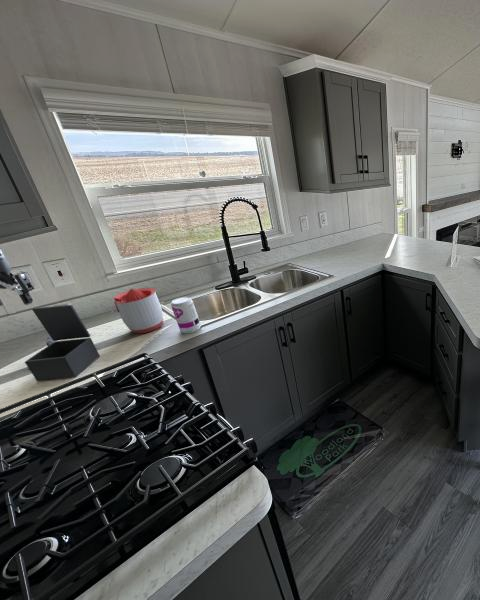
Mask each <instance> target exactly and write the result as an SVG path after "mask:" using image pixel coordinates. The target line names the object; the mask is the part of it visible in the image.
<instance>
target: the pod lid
mask: <svg viewBox="0 0 480 600" xmlns="http://www.w3.org/2000/svg"><path fill="white" fill-rule="evenodd" d="M31 310H32V312H33V313H34V315H35V316H36V317H37V319H38V320H39V322H40V323H41V325H42V326H43V328H44V329H45V331H46V332H47V334H48V335H49V338H51V339H52V341H53V342H55V341H63V340H73V339H83V338H91V334H90V332H89V330H88V329H87V327H86V326H85V324H84V323H83V321H82V319H81V317H80V315H79V314H78V313H77V311H76V309H75V308H74V306H73V304H72V303H71V302H70V303H57V304H53V305H52V306H43V307H33V308H32V309H31Z"/></svg>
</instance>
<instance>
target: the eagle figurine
mask: <svg viewBox="0 0 480 600" xmlns="http://www.w3.org/2000/svg"><path fill="white" fill-rule="evenodd" d="M53 342H54V341H53V340H52V338H51V337H50V336H48V337H46V345H47V346H49V345H50V344H52V343H53ZM47 346H46V347H47Z"/></svg>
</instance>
